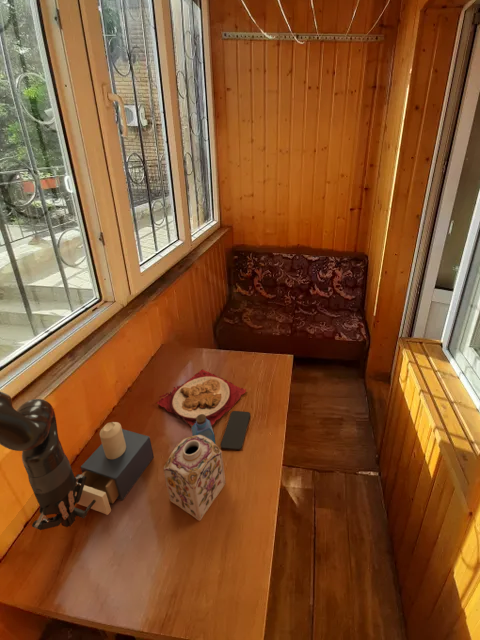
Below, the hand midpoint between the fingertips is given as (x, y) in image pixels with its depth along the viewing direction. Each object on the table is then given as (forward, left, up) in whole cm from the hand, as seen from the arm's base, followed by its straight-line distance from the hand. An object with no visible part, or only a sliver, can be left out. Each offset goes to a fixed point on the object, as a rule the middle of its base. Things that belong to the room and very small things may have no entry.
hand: (70, 522), depth 79 cm
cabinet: (+17, 0, -5) cm, 17 cm away
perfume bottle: (+32, -20, -5) cm, 38 cm away
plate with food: (+50, -9, -5) cm, 51 cm away
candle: (+17, 0, +4) cm, 17 cm away
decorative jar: (+18, -26, -5) cm, 32 cm away
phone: (+40, -28, -5) cm, 49 cm away
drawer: (+10, 0, -4) cm, 10 cm away
